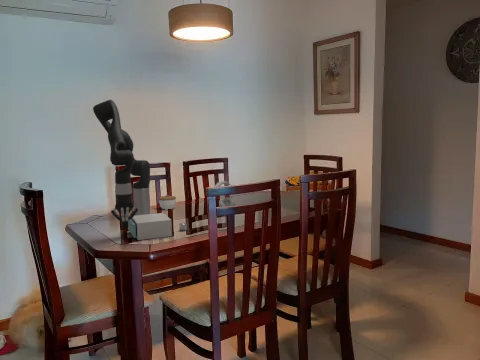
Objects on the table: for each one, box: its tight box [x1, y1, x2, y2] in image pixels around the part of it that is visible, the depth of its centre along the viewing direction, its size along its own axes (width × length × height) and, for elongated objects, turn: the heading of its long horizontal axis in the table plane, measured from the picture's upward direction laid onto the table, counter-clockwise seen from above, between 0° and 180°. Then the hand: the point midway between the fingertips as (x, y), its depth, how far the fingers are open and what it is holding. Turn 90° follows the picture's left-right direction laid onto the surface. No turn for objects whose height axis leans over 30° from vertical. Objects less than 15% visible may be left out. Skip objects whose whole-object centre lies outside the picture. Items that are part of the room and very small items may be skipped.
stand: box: [178, 222, 188, 232], centre depth 204 cm, size 4×4×4 cm
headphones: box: [214, 180, 236, 207], centre depth 240 cm, size 19×9×20 cm, turn 145°
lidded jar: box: [158, 194, 177, 211], centre depth 259 cm, size 11×11×9 cm
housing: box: [131, 212, 173, 241], centre depth 197 cm, size 18×16×8 cm
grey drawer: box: [127, 220, 137, 239], centre depth 196 cm, size 18×16×6 cm
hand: (125, 228), depth 192 cm, fingers closed
